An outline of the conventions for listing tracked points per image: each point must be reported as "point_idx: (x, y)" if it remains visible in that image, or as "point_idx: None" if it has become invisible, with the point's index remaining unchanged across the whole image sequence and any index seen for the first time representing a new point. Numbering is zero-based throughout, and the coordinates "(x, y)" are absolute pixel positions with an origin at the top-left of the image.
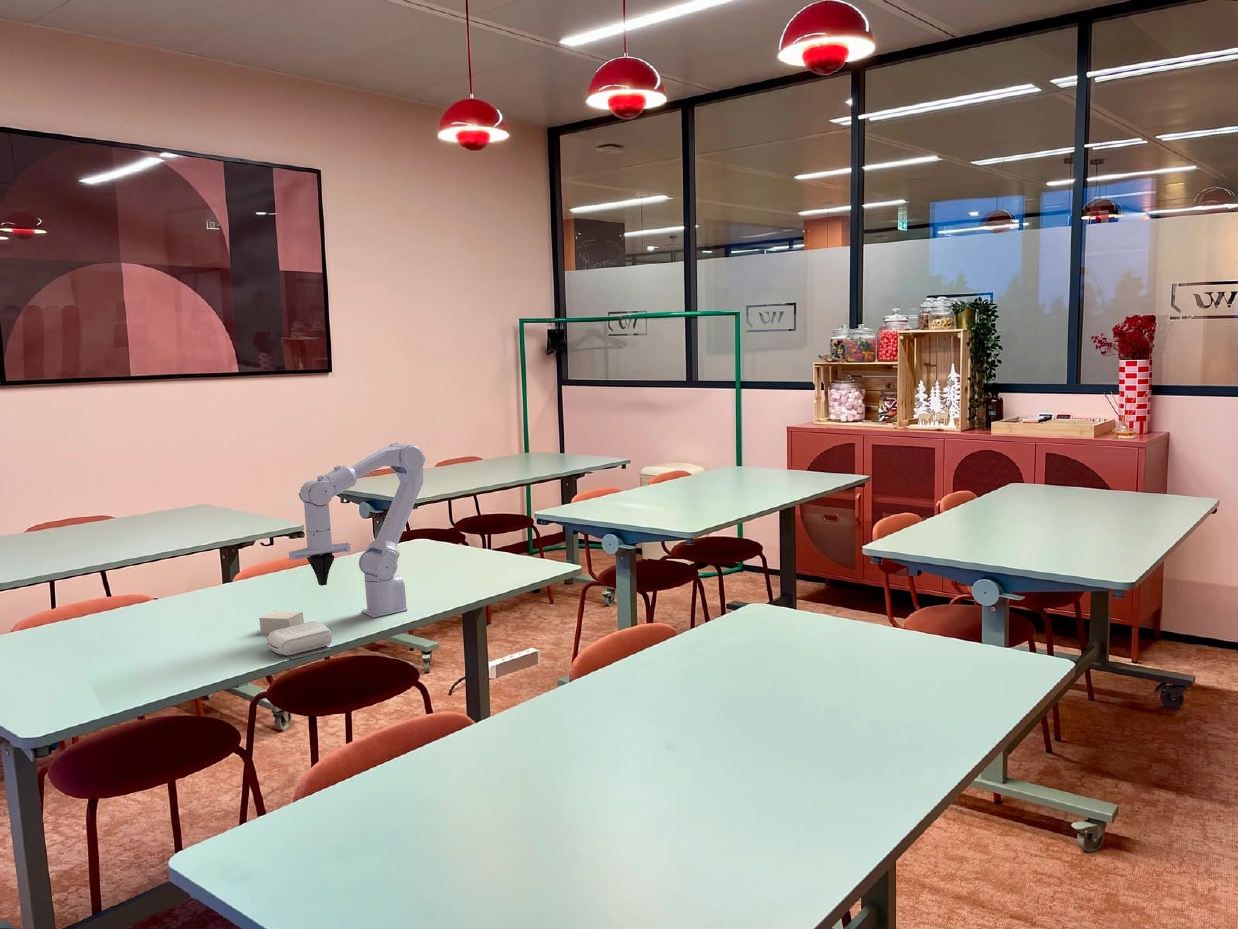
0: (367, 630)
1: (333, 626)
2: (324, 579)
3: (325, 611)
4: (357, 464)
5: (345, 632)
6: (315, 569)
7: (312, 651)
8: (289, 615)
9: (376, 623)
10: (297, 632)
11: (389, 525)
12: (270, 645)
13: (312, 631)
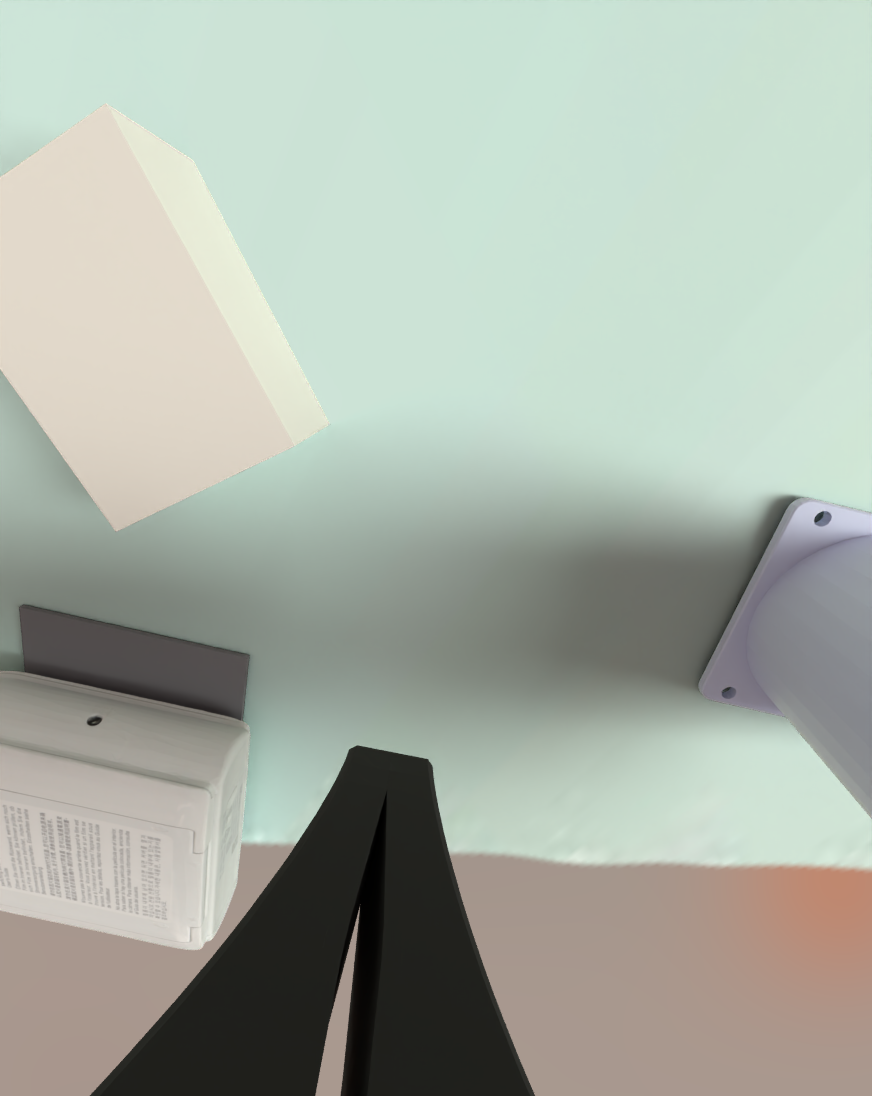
0: (503, 815)
1: (448, 605)
2: (359, 938)
3: (704, 152)
4: None
5: (416, 751)
6: (240, 1007)
7: None
8: (158, 449)
9: (621, 768)
10: (33, 888)
11: None
12: None
13: (110, 924)
